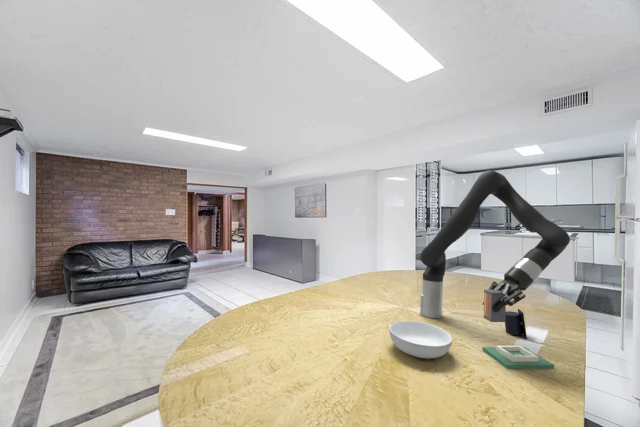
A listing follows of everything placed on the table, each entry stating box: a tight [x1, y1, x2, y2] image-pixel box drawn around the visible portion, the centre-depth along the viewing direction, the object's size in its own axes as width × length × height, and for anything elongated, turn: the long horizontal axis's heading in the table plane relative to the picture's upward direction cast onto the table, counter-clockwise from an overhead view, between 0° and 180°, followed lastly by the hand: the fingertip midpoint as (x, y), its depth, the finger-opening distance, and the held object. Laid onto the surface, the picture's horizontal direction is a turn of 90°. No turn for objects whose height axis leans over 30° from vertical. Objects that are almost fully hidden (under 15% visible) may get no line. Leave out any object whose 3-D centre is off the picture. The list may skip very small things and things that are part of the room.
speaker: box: [504, 308, 528, 340], centre depth 117 cm, size 8×6×10 cm
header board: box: [482, 345, 555, 370], centre depth 96 cm, size 16×12×3 cm
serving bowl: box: [388, 320, 453, 359], centre depth 99 cm, size 21×21×7 cm
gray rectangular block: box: [483, 289, 507, 323], centre depth 97 cm, size 5×4×10 cm
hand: (489, 308), depth 97 cm, fingers closed on gray rectangular block, 4 cm apart
